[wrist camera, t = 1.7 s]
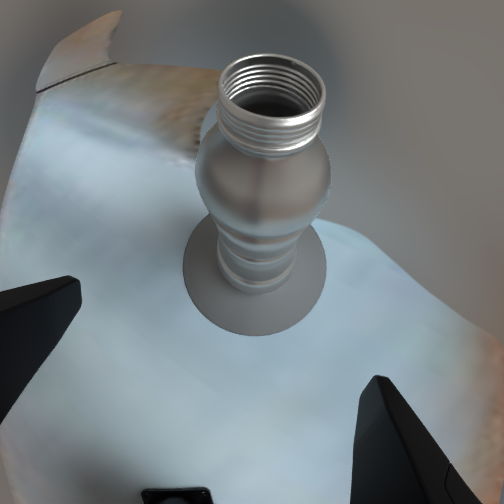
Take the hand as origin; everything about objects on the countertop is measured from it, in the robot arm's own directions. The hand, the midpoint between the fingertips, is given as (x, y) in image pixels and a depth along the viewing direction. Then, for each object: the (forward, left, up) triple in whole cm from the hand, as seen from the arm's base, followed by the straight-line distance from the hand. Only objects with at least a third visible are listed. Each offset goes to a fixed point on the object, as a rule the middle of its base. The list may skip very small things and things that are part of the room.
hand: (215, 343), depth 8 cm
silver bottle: (+3, +7, -18) cm, 20 cm away
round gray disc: (+3, +7, -18) cm, 20 cm away
